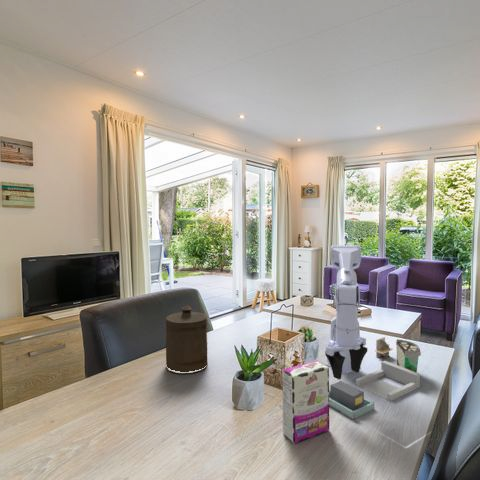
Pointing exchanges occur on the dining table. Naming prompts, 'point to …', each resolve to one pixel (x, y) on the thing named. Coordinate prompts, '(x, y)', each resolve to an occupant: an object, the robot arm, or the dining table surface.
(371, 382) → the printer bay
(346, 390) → the grey rectangular block
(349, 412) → the tray
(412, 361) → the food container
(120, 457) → the dining table surface
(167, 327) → the wooden container
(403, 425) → the dining table surface
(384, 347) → the architectural model
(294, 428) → the candy bar box
